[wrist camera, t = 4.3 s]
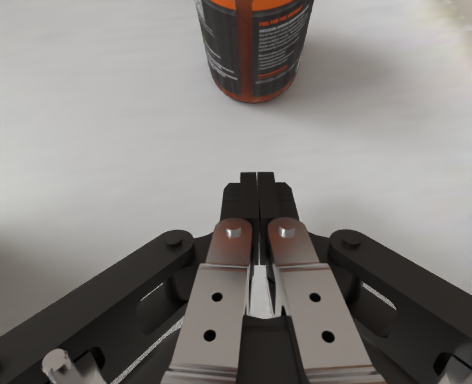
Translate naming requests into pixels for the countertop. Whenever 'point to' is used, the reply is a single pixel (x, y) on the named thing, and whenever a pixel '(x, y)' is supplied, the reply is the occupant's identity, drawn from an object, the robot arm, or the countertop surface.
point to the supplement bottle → (253, 44)
